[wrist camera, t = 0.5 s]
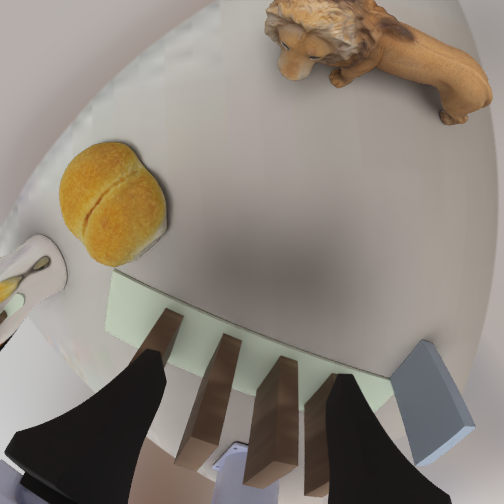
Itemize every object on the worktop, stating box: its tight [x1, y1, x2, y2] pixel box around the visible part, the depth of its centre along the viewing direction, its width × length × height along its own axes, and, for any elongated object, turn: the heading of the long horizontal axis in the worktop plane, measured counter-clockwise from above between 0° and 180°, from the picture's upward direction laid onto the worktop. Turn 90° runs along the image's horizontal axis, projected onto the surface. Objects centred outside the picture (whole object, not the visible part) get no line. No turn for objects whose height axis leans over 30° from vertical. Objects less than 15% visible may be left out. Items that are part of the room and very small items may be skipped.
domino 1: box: [128, 308, 184, 367], centre depth 19 cm, size 2×5×10 cm, turn 157°
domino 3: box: [242, 355, 299, 489], centre depth 19 cm, size 2×5×10 cm, turn 157°
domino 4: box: [304, 373, 337, 497], centre depth 19 cm, size 2×5×10 cm, turn 157°
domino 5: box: [389, 340, 476, 466], centre depth 18 cm, size 2×5×10 cm, turn 157°
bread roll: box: [59, 142, 167, 267], centre depth 18 cm, size 8×9×4 cm
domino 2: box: [174, 333, 242, 471], centre depth 19 cm, size 2×5×10 cm, turn 157°
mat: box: [104, 269, 394, 413], centre depth 24 cm, size 7×28×1 cm, turn 67°
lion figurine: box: [265, 0, 493, 125], centre depth 11 cm, size 15×5×9 cm, turn 89°
